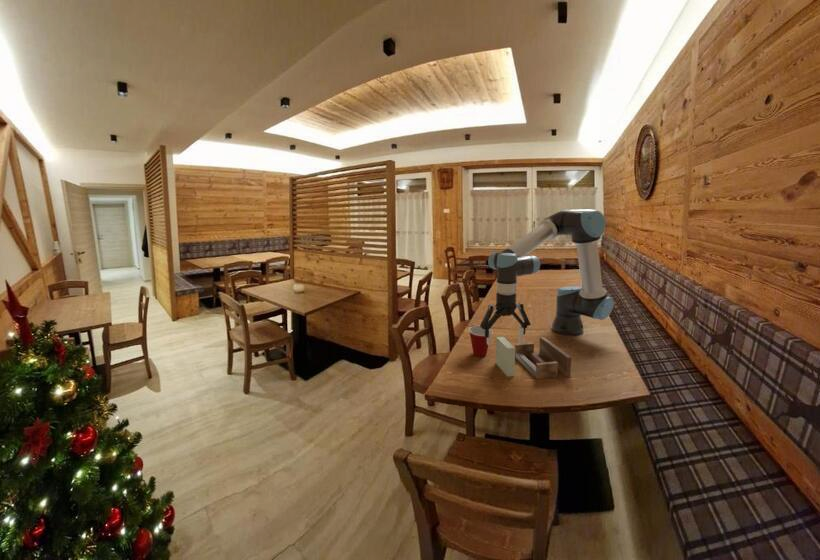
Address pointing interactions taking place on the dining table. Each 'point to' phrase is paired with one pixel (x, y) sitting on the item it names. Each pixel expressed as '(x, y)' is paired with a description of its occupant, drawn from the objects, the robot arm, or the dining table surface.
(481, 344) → the plastic cup
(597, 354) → the dining table surface
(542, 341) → the track
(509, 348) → the door panel
